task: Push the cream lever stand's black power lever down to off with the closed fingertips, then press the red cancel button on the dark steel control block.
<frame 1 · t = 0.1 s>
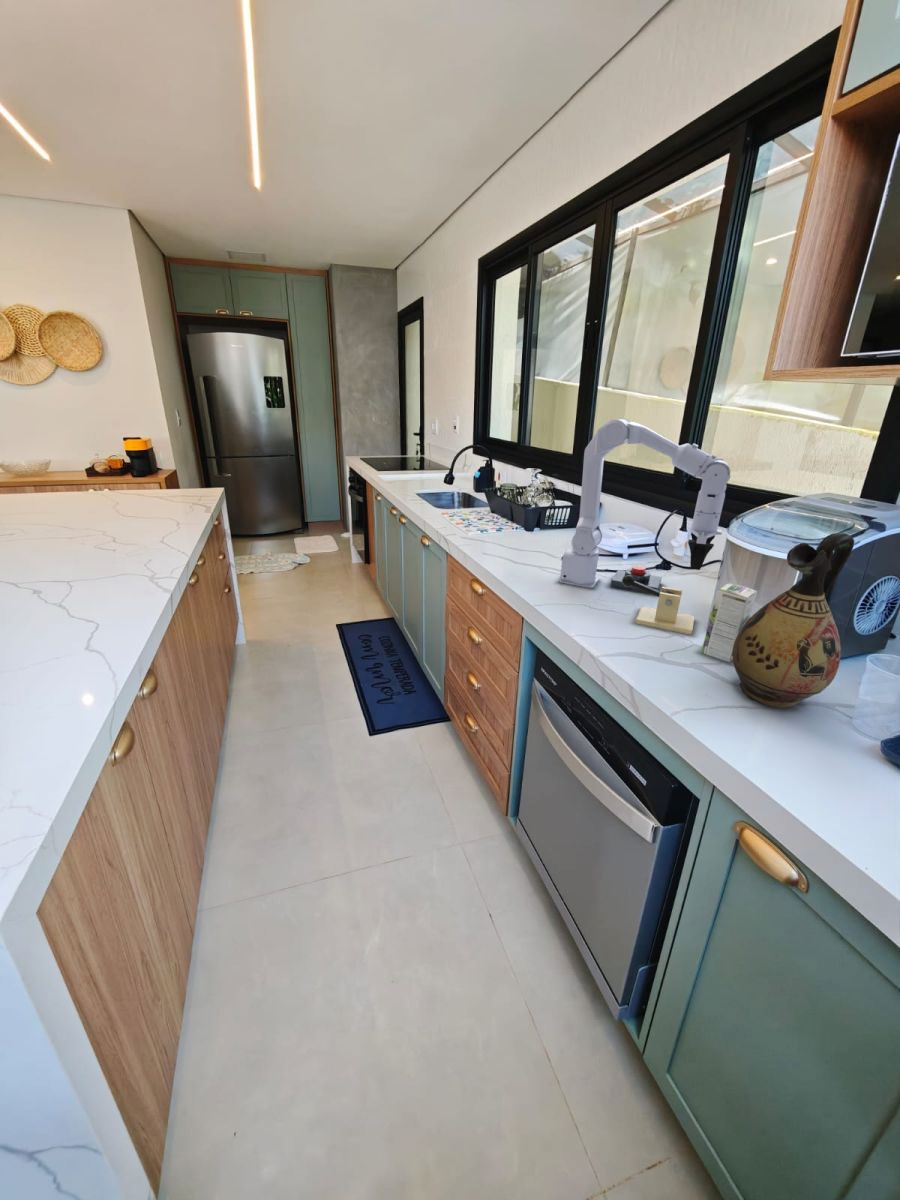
hand: (696, 564, 127), 10 cm above the countertop, tool pointing down, fingers open, 7 cm apart
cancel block: (635, 585, 141), on the countertop
syrup box: (720, 654, 105), on the countertop
cream lever stand: (664, 622, 119), on the countertop
ceramic jug: (774, 694, 91), on the countertop
power lever: (648, 589, 118), point 7 cm above the countertop, hinge at 15.0°
cancel button: (638, 570, 139), point 4 cm above the countertop, slide at 0.1 cm
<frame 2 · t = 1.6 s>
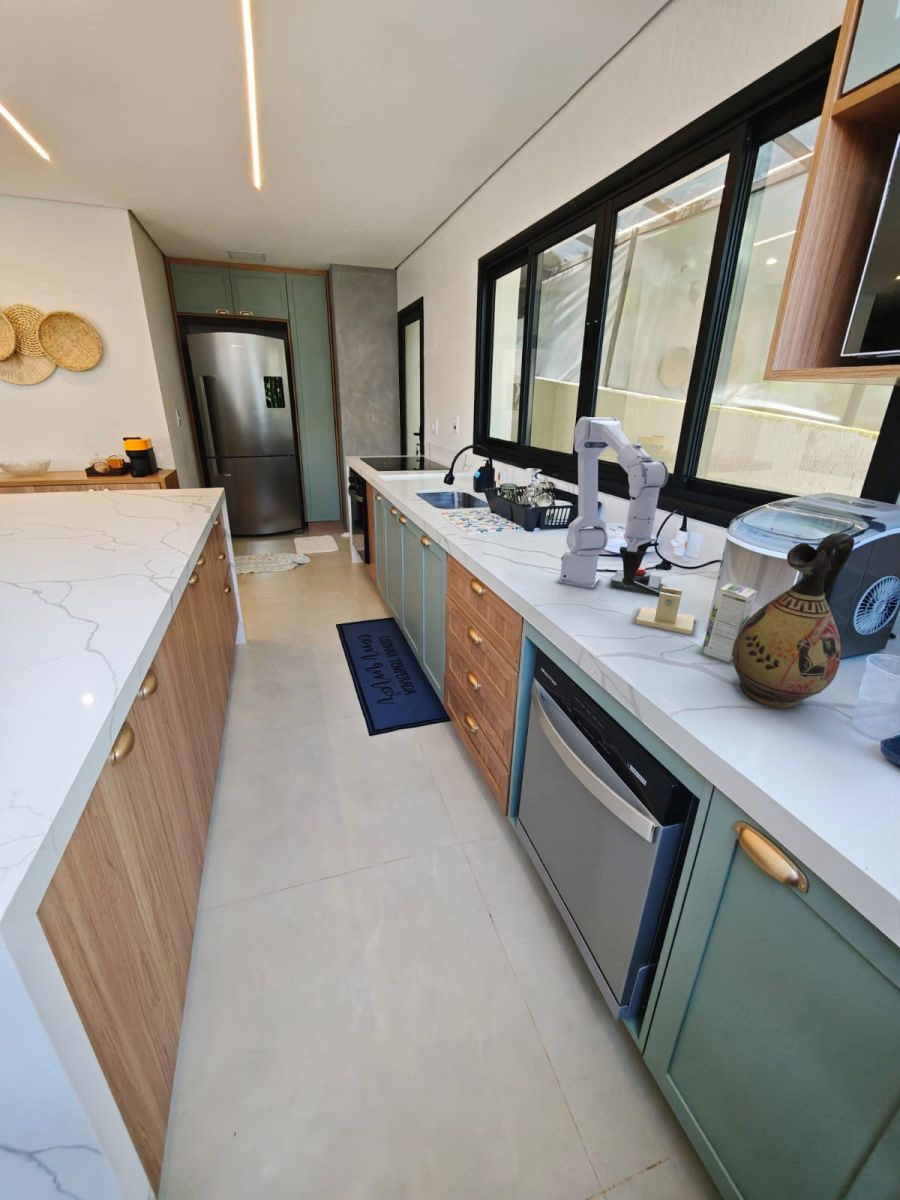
hand: (631, 573, 119), 10 cm above the countertop, tool pointing down, fingers open, 7 cm apart
nothing on the countertop moved.
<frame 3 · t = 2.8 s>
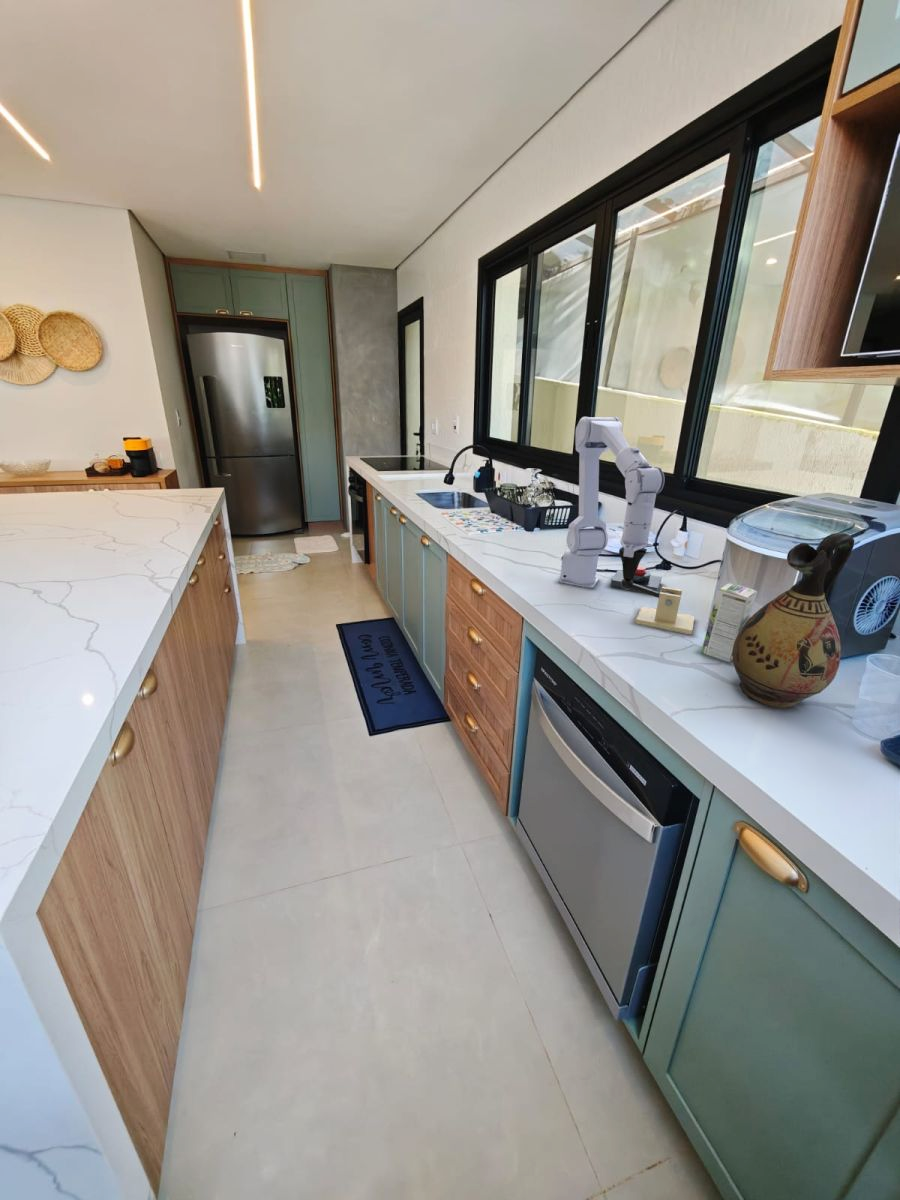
hand: (628, 578, 119), 9 cm above the countertop, tool pointing down, fingers closed
power lever: (648, 591, 118), point 7 cm above the countertop, hinge at 10.5°
everything else where it was.
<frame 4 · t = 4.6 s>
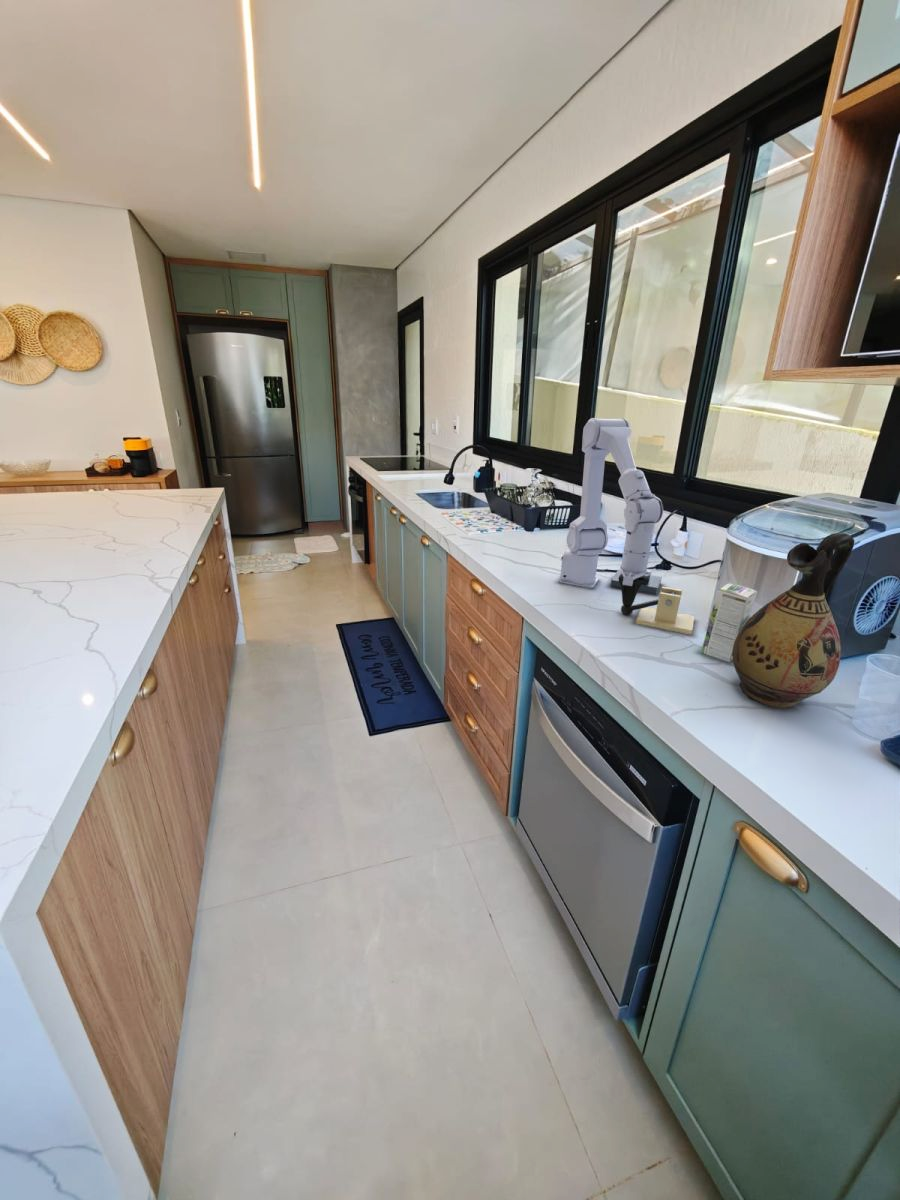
hand: (627, 604, 121), 3 cm above the countertop, tool pointing down, fingers closed, pressing on power lever
power lever: (647, 604, 119), point 4 cm above the countertop, hinge at -27.7°, touching gripper
everything else where it was.
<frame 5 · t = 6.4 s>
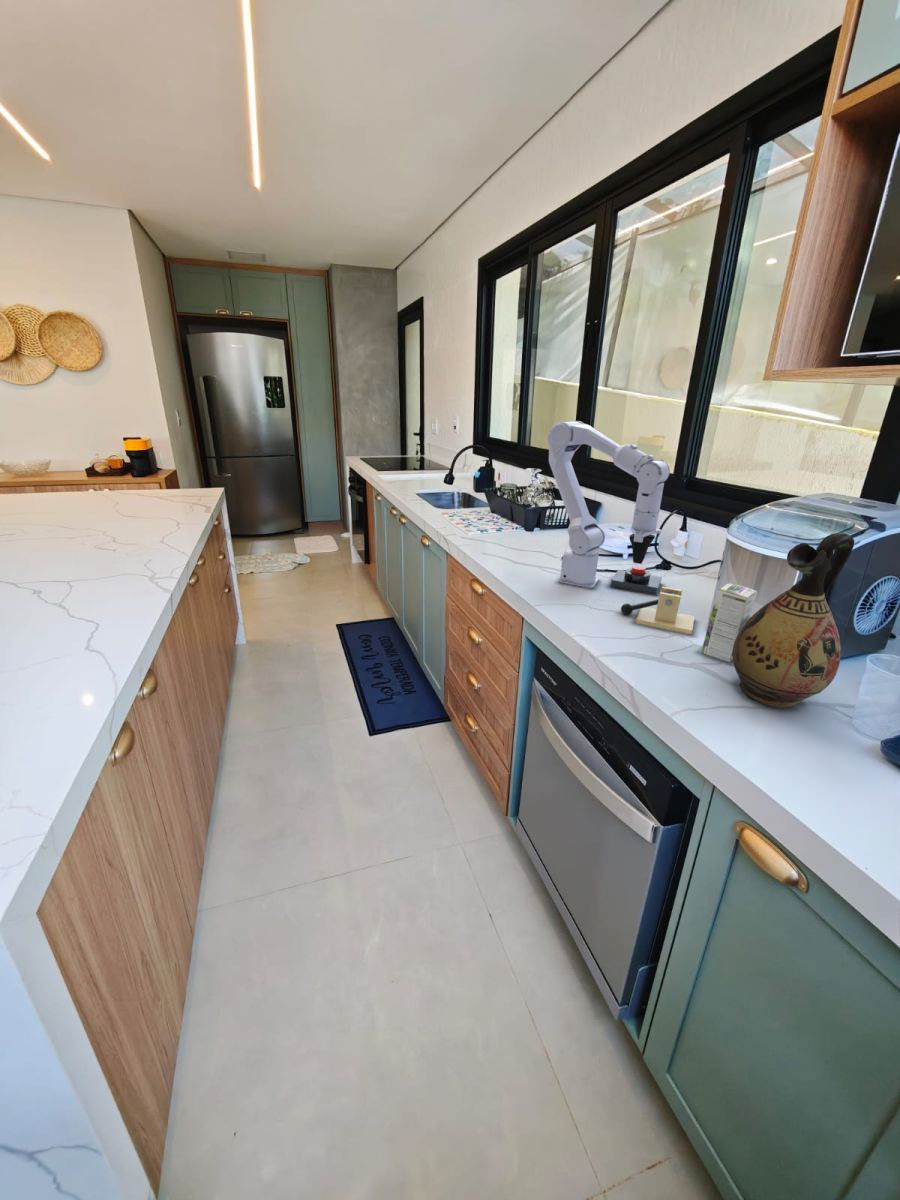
hand: (637, 562, 130), 9 cm above the countertop, tool pointing down, fingers closed
power lever: (647, 604, 119), point 4 cm above the countertop, hinge at -27.4°
everything else where it was.
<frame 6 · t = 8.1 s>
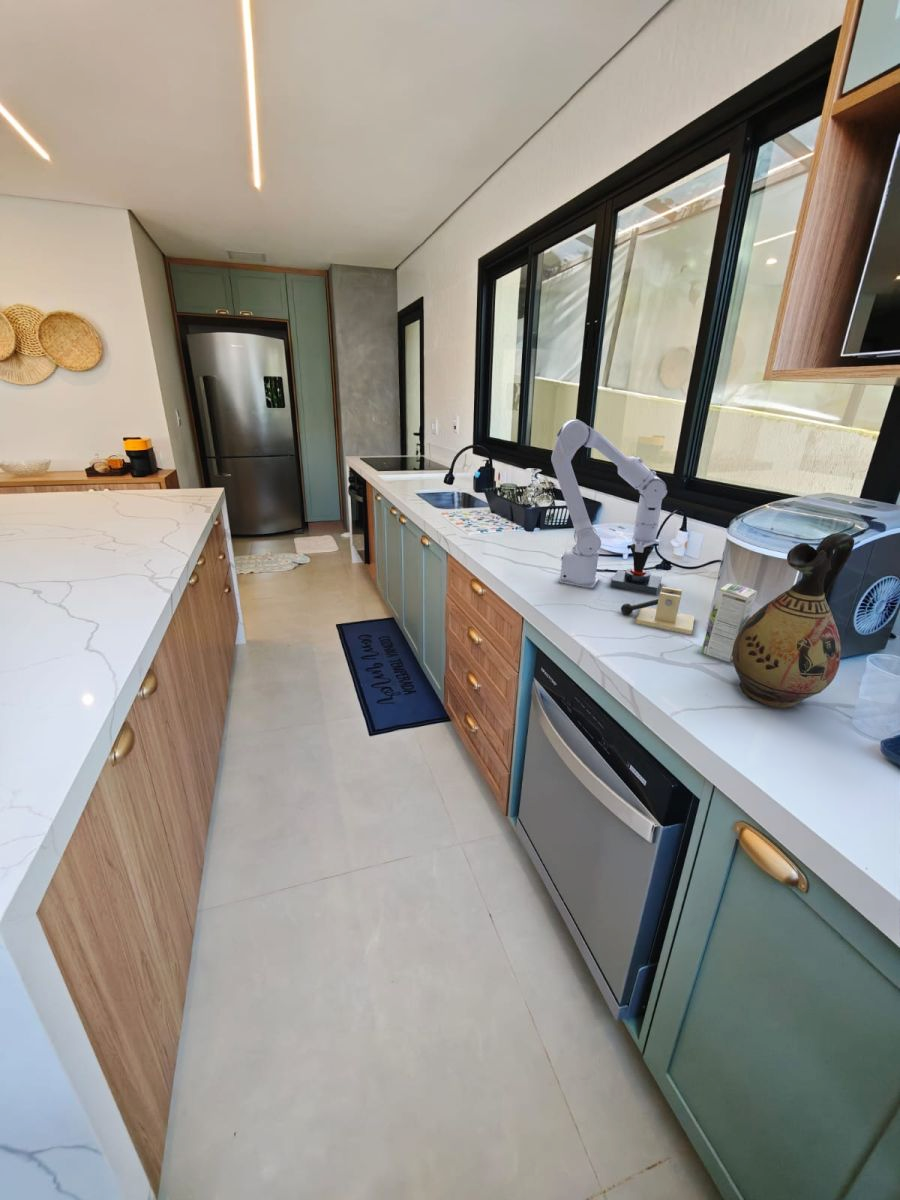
hand: (638, 570, 139), 4 cm above the countertop, tool pointing down, fingers closed, pressing on cancel button
cancel button: (637, 573, 140), point 4 cm above the countertop, slide at -0.8 cm, touching gripper
everything else where it was.
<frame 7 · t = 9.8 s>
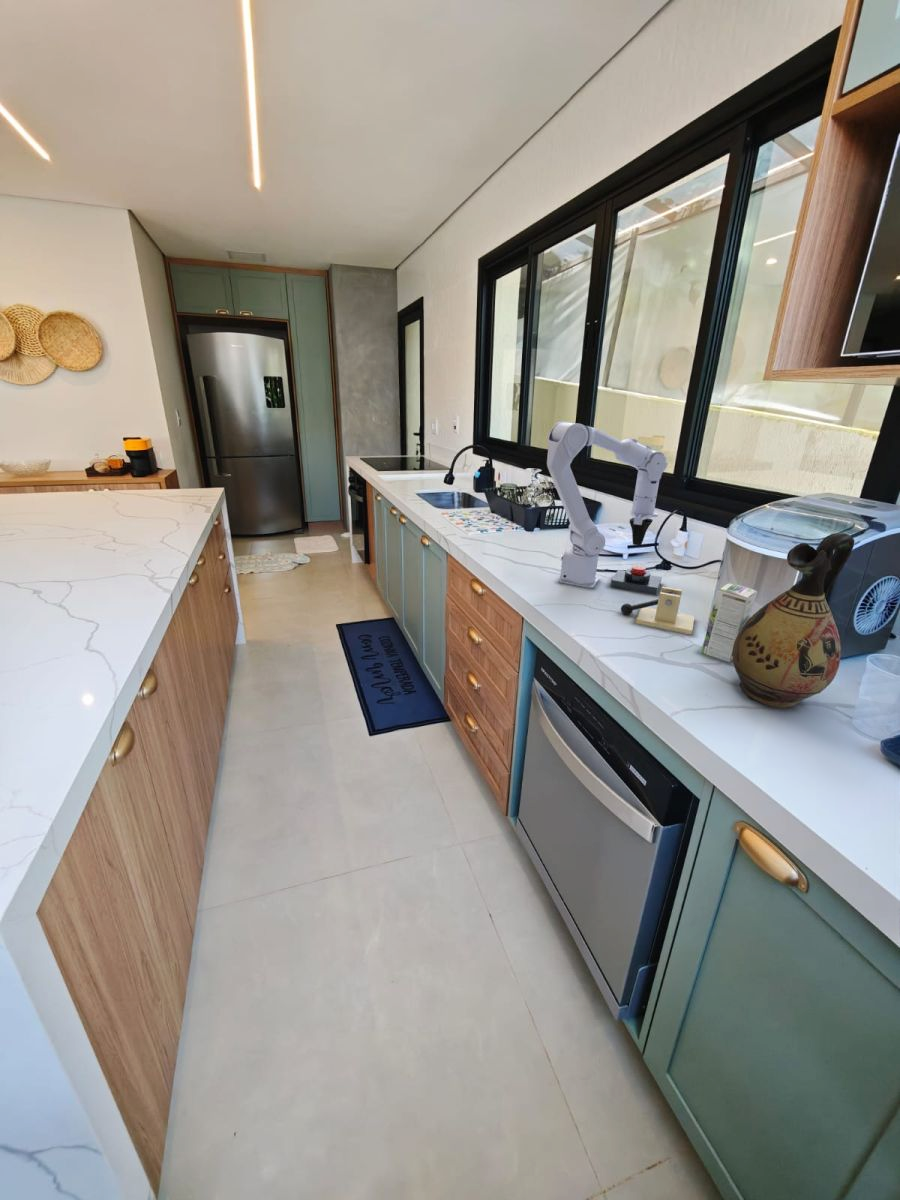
hand: (637, 544, 142), 10 cm above the countertop, tool pointing down, fingers closed
cancel button: (638, 570, 139), point 4 cm above the countertop, slide at 0.1 cm
everything else where it was.
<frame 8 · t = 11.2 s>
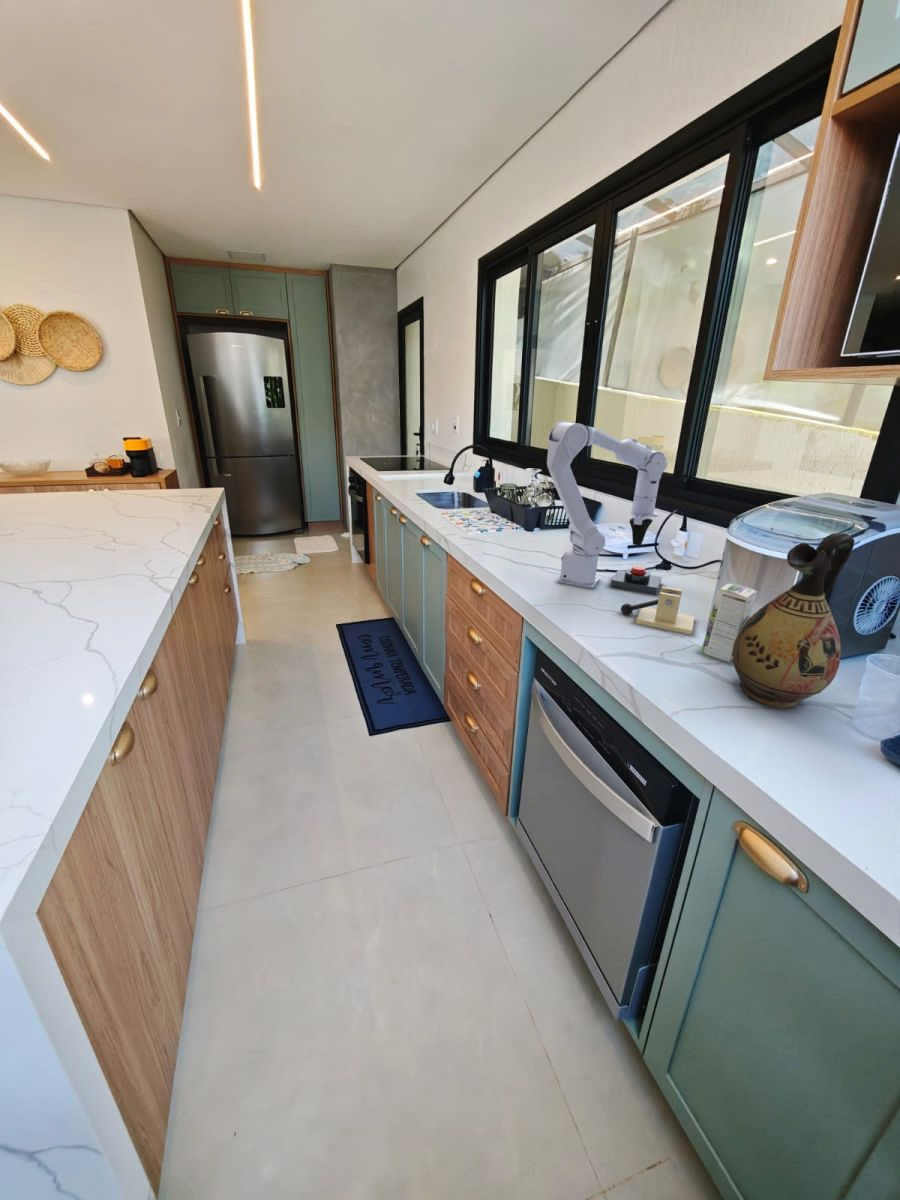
hand: (637, 544, 142), 10 cm above the countertop, tool pointing down, fingers closed
nothing on the countertop moved.
at the end: power lever at -27° (first picture: +15°); cancel button pushed in 1.2 cm at the most during the clip, back to where it started at the end; cancel button slide at 0.1 cm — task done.
